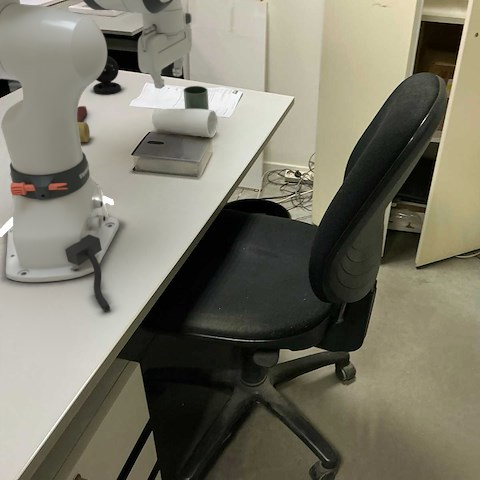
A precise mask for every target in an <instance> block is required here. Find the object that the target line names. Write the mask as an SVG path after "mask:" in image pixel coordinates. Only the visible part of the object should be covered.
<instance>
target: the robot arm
mask: <svg viewBox="0 0 480 480" xmlns="http://www.w3.org/2000/svg"><path fill="white" fill-rule="evenodd" d="M82 1H83V2H84V3H85V4H86V6H87V7H88V8H90V9H92V10H93V11H116V12H125V13H131V14H134V13H136V14H141V16H142V25H143V29H142V33H141V35H140V36H139V38H138V40H137V63H138V68H139V70H140V72H141V73H143V74H150V77H151V78H152V80H153V83H154V88H155V89H158V90H159V89H161V90H162V89H163V88H164V87H165V79H163V78H162V71H163V70H164V69H165V68H166V67H168V66H169V65H172V64H173V67H172V75H173V76H174V77H177V78H178V77H180V76H182V75H183V65H184V61H185V60H184V59H185V57H184V56H187V55H188V54H190V53H191V51H192V46H193V36H192V26H191V23H193V15H192V13H191V12H189V11H185V10H183V3H182V0H82ZM107 46H108V45H107V42H106V38H105V35H104V34H103V31H102V29H101V28H100V26H99V25H98V24H97V23H96V22H95V20H93V19H92V18H91V17H89V16H86V15H83V14H81V13H77V12H74V11H71V10H68V9H64V8H62V7H54V6H45V5H34V4H25V3H21V1H20V0H0V80H8V81H9V80H10V81H18V83H19V84H20V86H21V89H22V95H23V96H22V100H20V101H17V102H16V103H14V104H13V105H11V106H10V107H8V109H7V110H6V111H5V113H4V114H3V117H2V119H1V123H0V128H1V131H2V134H3V139H4V142H5V145H6V149H7V153H8V157H9V159H10V163H9V169H10V173H9V175H10V180H11V183H10V193H11V196H12V203H11V204H12V209H11V210H12V215H11V216H12V217H11V218H10V219H9V220H8V221H6V223H5V224H4V225H3V226H2V227H1V228H0V237H3V236H4V235H5V234H6V233H7V242H6V259H5V276H6V278H7V279H10V280H12V281H17V282H22V283H46V282H47V283H48V282H49V283H50V282H58V281H65V280H67V281H68V280H72V279H76V278H81V277H84V276H87V275H89V274H92V273H94V280H93V291H94V294H95V295H94V296H95V298H96V300H97V302H98V303H99V304H100V306H101V307H102V309H103V310H104V311H109V310H110V309H111V306H110V304H109V302H108V301H107V299H106V298H105V297H104V296H103V292H102V289H101V284H102V283H101V282H102V269H101V265H100V264H101V262H102V260H103V258H104V256H105V254H106V252H107V250H108V249H109V246H110V245H111V243H112V241H113V239H114V238H115V235H116V233H117V231H118V230H119V228H120V222H119V219H117V218H115V217H112V216H109V213H108V209H107V205H106V204H109V205H110V206H113V205H114V200H113V199H111V198H109V197H107V196H105V195H104V193H103V192H104V191H103V189H102V186H101V185H100V184H99V183H98V182H96V181H95V180H93V179H92V178H91V176H90V175H91V173H90V167H89V166H90V164H89V161H88V160H87V159H88V158H87V156H86V154H85V153H84V151H83V148H82V142H80V136H79V130H78V122H77V109H78V107H79V104H80V101H81V97H82V95H83V93H84V92H85V91H86V89H87V88H88V87H89V86H90V85H91V84H93V83H94V82H95V81H97V80H96V79H97V78H98V77H99V76H100V74H101V73H102V71H103V69H104V67H105V65H106V60H107V56H108V47H107Z"/></svg>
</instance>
